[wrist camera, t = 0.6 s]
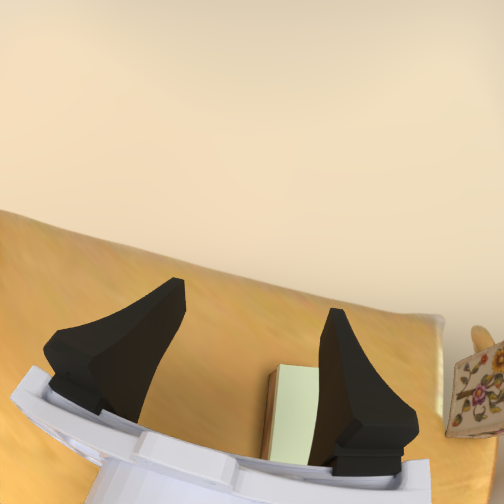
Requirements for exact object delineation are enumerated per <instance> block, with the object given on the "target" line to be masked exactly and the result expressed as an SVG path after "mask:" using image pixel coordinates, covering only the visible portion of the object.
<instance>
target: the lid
mask: <svg viewBox="0 0 504 504" xmlns="http://www.w3.org/2000/svg"><path fill="white" fill-rule="evenodd" d="M318 398H319V368H314V367H303V366H292V365H283V364H280V365H278V366H277V375H276V386H275V396H274V406H273V416H272V425H271V434H270V443H269V452H268V461H275V462H282V463H289V464H298V465H307V464H308V459H309V455H310V450H311V445H312V440H313V435H314V429H315V422H316V416H317V408H318Z"/></svg>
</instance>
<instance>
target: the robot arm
mask: <svg viewBox="0 0 504 504" xmlns="http://www.w3.org/2000/svg"><path fill="white" fill-rule="evenodd" d="M185 312H186V300H185V285H184V280H183V279H179V278H174V277H173V278H171V279H170V280H168V281H167V282H165V283H164V284H162V285H161V286H159V287H158V288H157V289H155V290H154V291H152V292H151V293H149V294H148V295H146V296H145V297H143V298H141V299H140V300H138V301H136V302H135V303H133V304H131V305H130V306H128V307H126V308H124V309H122V310H120V311H118V312H116V313H114V314H112V315H110V316H107V317H105V318H102V319H99V320H97V321H94V322H91V323H88V324H85V325H81V326H77V327H73V328H68V329H62V330H57V331H56V333H55V334H54V335H53V336H52V337H51V339H50V340H49V341H48V342H47V343H46V345H45V346H44V348H43V351H44V355H45V357H46V359H47V360H48V362H49V364H50V365H51V367H52V368H53V370H54V372H55V375H54V376H53V378H52V376H51V375H49V374H48V373H47V372H45V371H44V370H42V369H40V368H39V367H37V366H36V365H33V366H32V368H31V369H30V370H29V371H28V373H27V374H26V375H25V377H24V378H23V379H22V381H21V382H20V383H19V385H18V386H17V388H16V389H15V390H14V392H13V393H12V395H11V396H10V399H11V400H12V402H13V403H14V404H15V405H16V406H17V407H18V408H19V409H20V410H21V411H22V412H23V414H24V415H25V416H26V417H27V418H28V419H29V420H30V421H31V422H32V423H34V424H35V425H36V426H38V427H39V428H40V429H42V430H43V431H45V432H46V433H47V434H49V435H50V436H52V437H53V438H55V439H56V440H57V441H59V442H60V443H62V444H63V445H65V446H66V447H68V448H69V449H71V450H72V451H74V452H76V453H77V454H79V455H80V456H82V457H84V458H85V459H87V460H89V461H90V462H92V463H94V464H95V465H97V466H99V467H101V469H100V471H99V473H98V475H97V477H96V479H95V481H94V483H93V485H92V487H91V489H90V491H89V493H88V495H87V498H86V500H85V502H84V504H432V502H431V478H430V464H429V459H417V460H408V461H404V462H402V463H401V456H403V455H404V447H405V446H406V445H407V444H409V443H410V442H411V441H412V440H413V439H414V438H415V437H416V436H417V435H418V433H419V425H418V418H417V415H416V411H415V410H413V409H412V408H411V407H410V406H409V405H408V404H406V403H405V402H404V401H403V400H402V399H401V398H400V397H399V396H398V395H397V394H396V393H394V392H393V390H392V389H391V388H390V387H389V386H388V385H387V384H386V383H385V381H384V380H383V379H382V378H381V377H380V375H379V374H378V373H377V372H376V370H375V369H374V367H373V366H372V364H371V363H370V361H369V360H368V358H367V356H366V355H365V353H364V351H363V350H362V348H361V346H360V344H359V342H358V340H357V338H356V336H355V334H354V332H353V330H352V328H351V326H350V324H349V321H348V319H347V317H346V314H345V312H344V310H343V309H336V308H330V311H329V314H328V317H327V320H326V323H325V326H324V329H323V332H322V334H321V337H320V347H319V398H318V408H317V416H316V422H315V429H314V435H313V440H312V445H311V450H310V455H309V459H308V464H307V465H298V464H289V463H282V462H275V461H268V460H262V459H257V458H251V457H246V456H241V455H237V454H232V453H228V452H223V451H219V450H215V449H211V448H208V447H204V446H200V445H197V444H193V443H190V442H187V441H183V440H180V439H177V438H174V437H171V436H168V435H165V434H162V433H160V432H157V431H154V430H151V429H149V428H146V427H143V426H141V425H138V424H137V423H138V419H139V416H140V412H141V409H142V406H143V403H144V400H145V397H146V394H147V391H148V389H149V386H150V383H151V381H152V378H153V376H154V373H155V371H156V369H157V366H158V364H159V362H160V360H161V358H162V357H163V355H164V353H165V351H166V350H167V348H168V346H169V344H170V343H171V341H172V339H173V338H174V336H175V334H176V332H177V331H178V329H179V327H180V325H181V322H182V320H183V317H184V315H185Z"/></svg>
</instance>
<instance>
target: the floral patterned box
mask: <svg viewBox="0 0 504 504" xmlns="http://www.w3.org/2000/svg"><path fill="white" fill-rule="evenodd" d="M499 435H504V341H502V342H500V343H498V344H496V345H494V346H492V347H490V348H487V349H485V350H483V351H481V352H478V353H476V354H474V355H471V356H469V357H467V358H465V359H463V360H461V361H459V362H457V363H456V364H455V369H454V384H453V395H452V401H451V408H450V416H449V422H448V427H447V432H446V437H455V438H490V437H494V436H499Z"/></svg>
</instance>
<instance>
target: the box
mask: <svg viewBox="0 0 504 504" xmlns="http://www.w3.org/2000/svg"><path fill="white" fill-rule="evenodd" d="M276 375H277V370H276V371H274V372H273V373H271V374H270V375H269V384H268V394H267V404H266V413H265V422H264V431H263V439H262V448H261V456H260V459H262V460H268V452H269V443H270V434H271V425H272V416H273V406H274V396H275V386H276Z"/></svg>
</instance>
